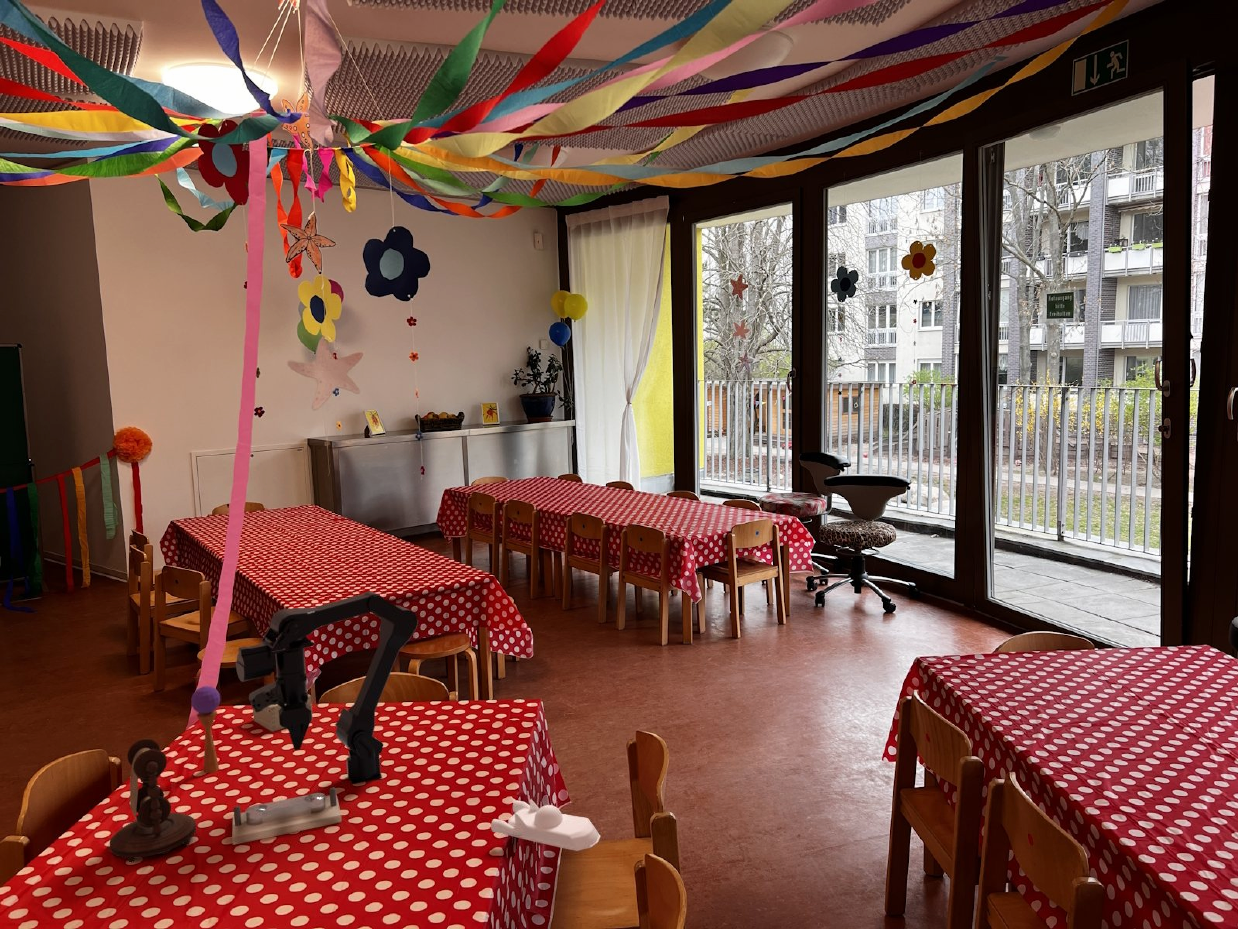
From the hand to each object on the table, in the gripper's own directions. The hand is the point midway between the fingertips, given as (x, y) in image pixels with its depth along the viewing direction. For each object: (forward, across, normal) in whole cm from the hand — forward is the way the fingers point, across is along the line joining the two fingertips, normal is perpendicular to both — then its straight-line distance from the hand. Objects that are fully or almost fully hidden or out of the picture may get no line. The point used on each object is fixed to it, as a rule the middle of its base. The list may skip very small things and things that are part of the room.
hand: (296, 741), depth 190 cm
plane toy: (+12, +39, +43) cm, 60 cm away
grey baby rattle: (+10, +11, -3) cm, 16 cm away
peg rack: (+12, +11, -3) cm, 17 cm away
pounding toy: (+12, -50, -2) cm, 52 cm away
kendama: (+12, -22, -18) cm, 31 cm away
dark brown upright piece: (+12, +9, -27) cm, 31 cm away
